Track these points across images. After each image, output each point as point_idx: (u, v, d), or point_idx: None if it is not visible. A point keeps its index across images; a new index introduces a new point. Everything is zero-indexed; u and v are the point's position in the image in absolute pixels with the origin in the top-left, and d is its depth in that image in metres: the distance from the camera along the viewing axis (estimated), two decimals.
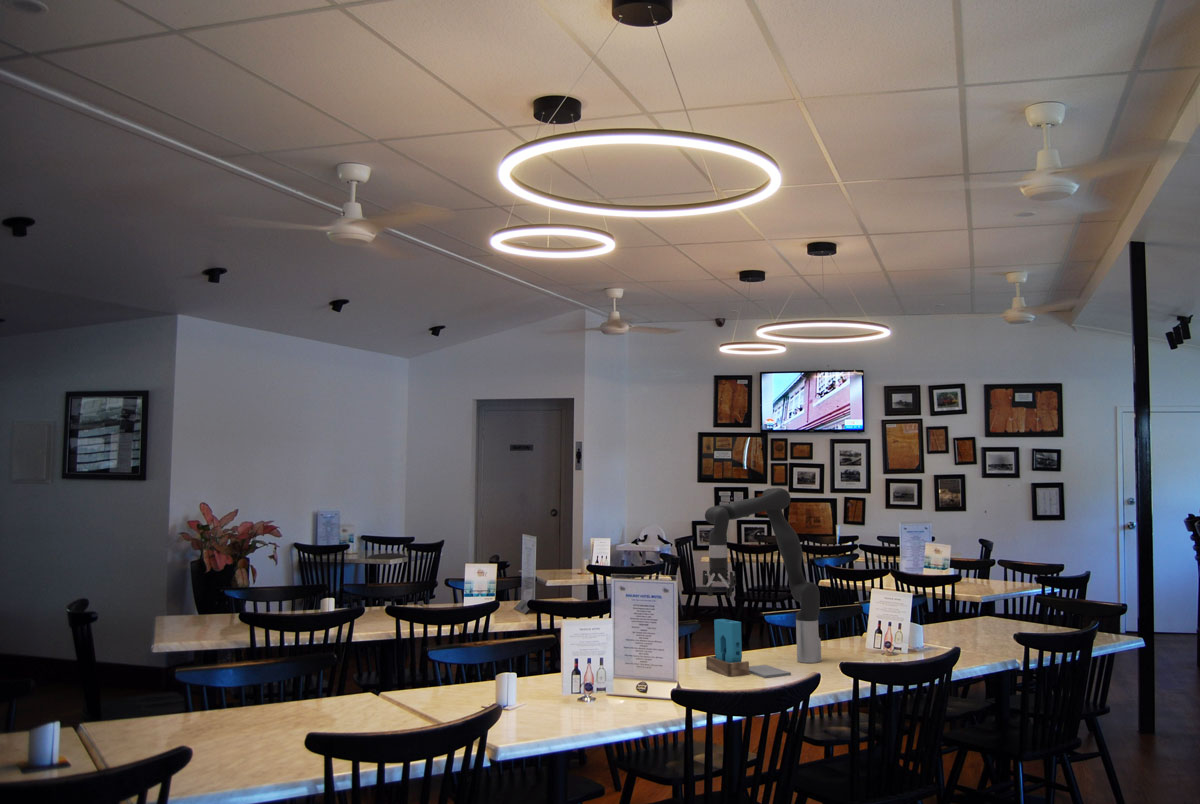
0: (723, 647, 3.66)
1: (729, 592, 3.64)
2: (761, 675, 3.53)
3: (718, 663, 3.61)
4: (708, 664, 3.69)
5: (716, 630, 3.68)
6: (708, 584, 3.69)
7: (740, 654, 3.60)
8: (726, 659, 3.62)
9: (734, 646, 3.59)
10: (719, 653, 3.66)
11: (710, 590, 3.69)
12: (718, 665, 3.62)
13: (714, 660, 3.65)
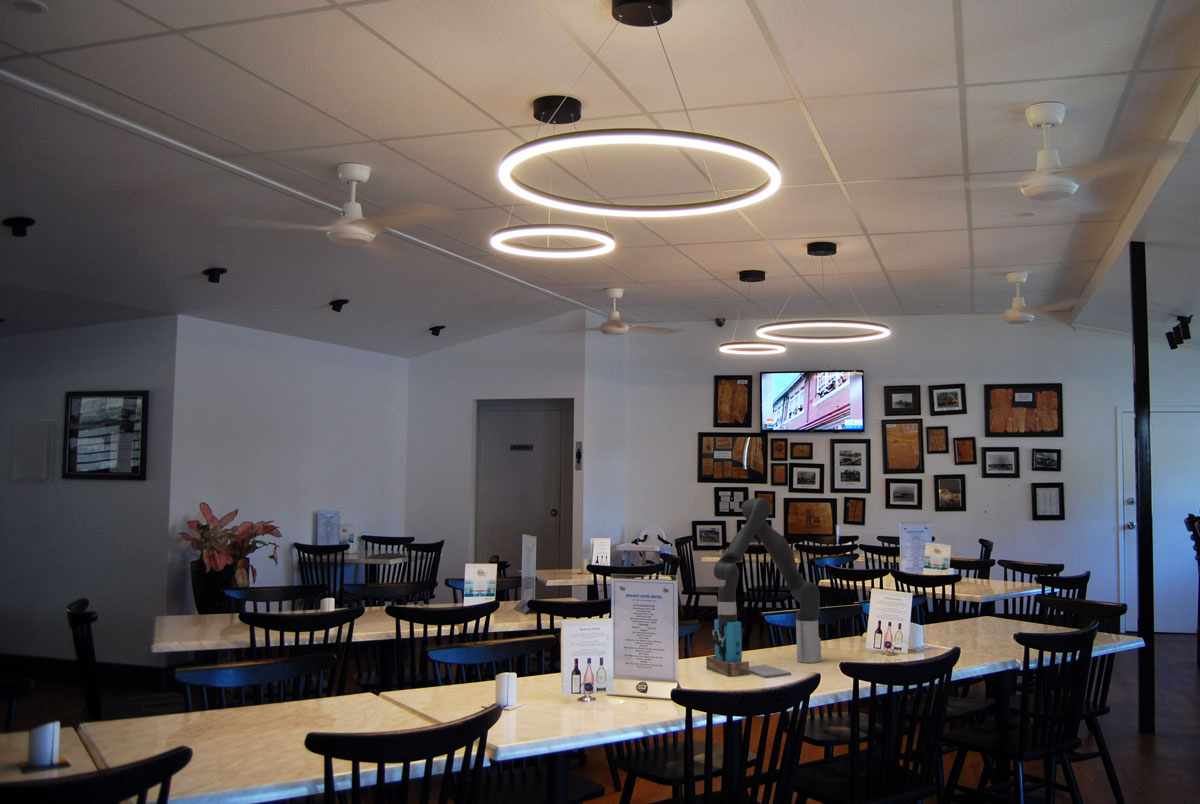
0: None
1: None
2: (761, 675, 3.53)
3: (718, 663, 3.61)
4: (708, 664, 3.69)
5: None
6: (723, 644, 3.63)
7: (740, 654, 3.60)
8: (726, 659, 3.62)
9: (734, 646, 3.59)
10: None
11: None
12: (718, 665, 3.62)
13: (714, 660, 3.65)
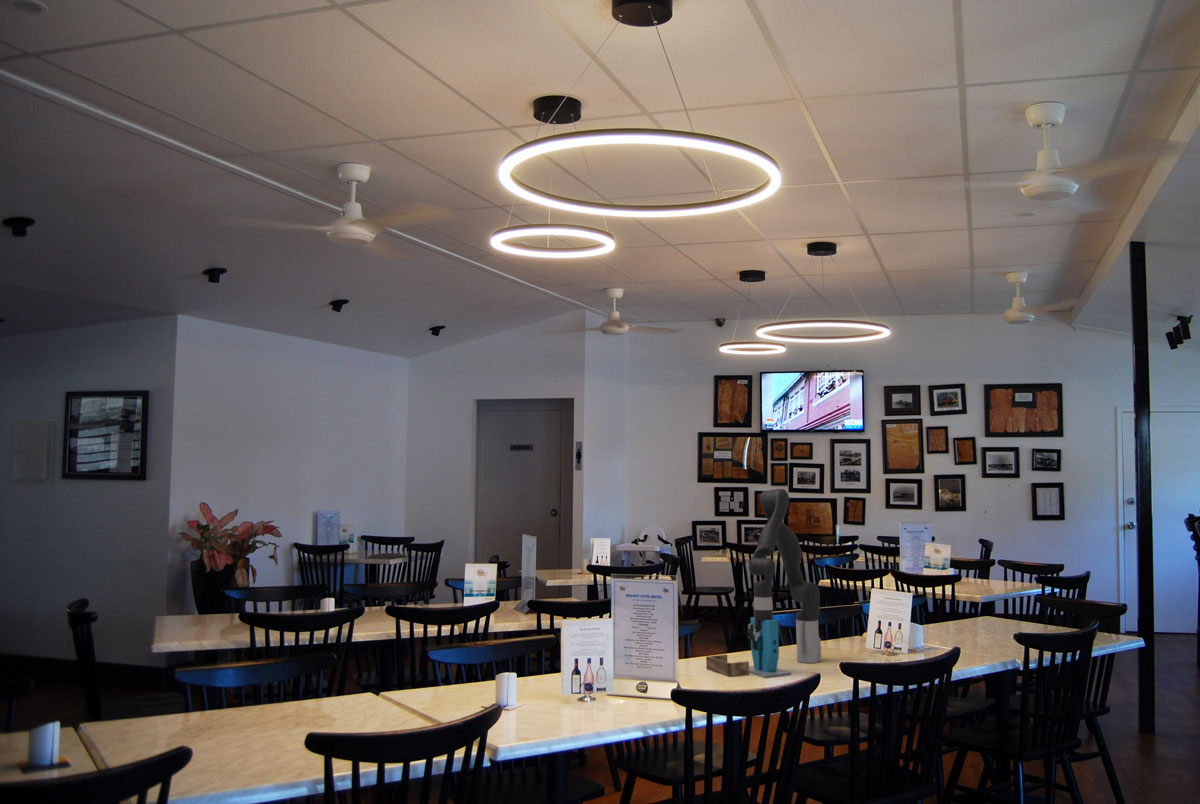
0: (760, 645, 3.64)
1: None
2: (761, 675, 3.53)
3: (718, 663, 3.61)
4: (708, 664, 3.69)
5: None
6: (756, 638, 3.60)
7: (777, 652, 3.58)
8: (763, 657, 3.60)
9: (771, 644, 3.57)
10: (755, 651, 3.63)
11: None
12: (718, 665, 3.62)
13: (714, 660, 3.65)
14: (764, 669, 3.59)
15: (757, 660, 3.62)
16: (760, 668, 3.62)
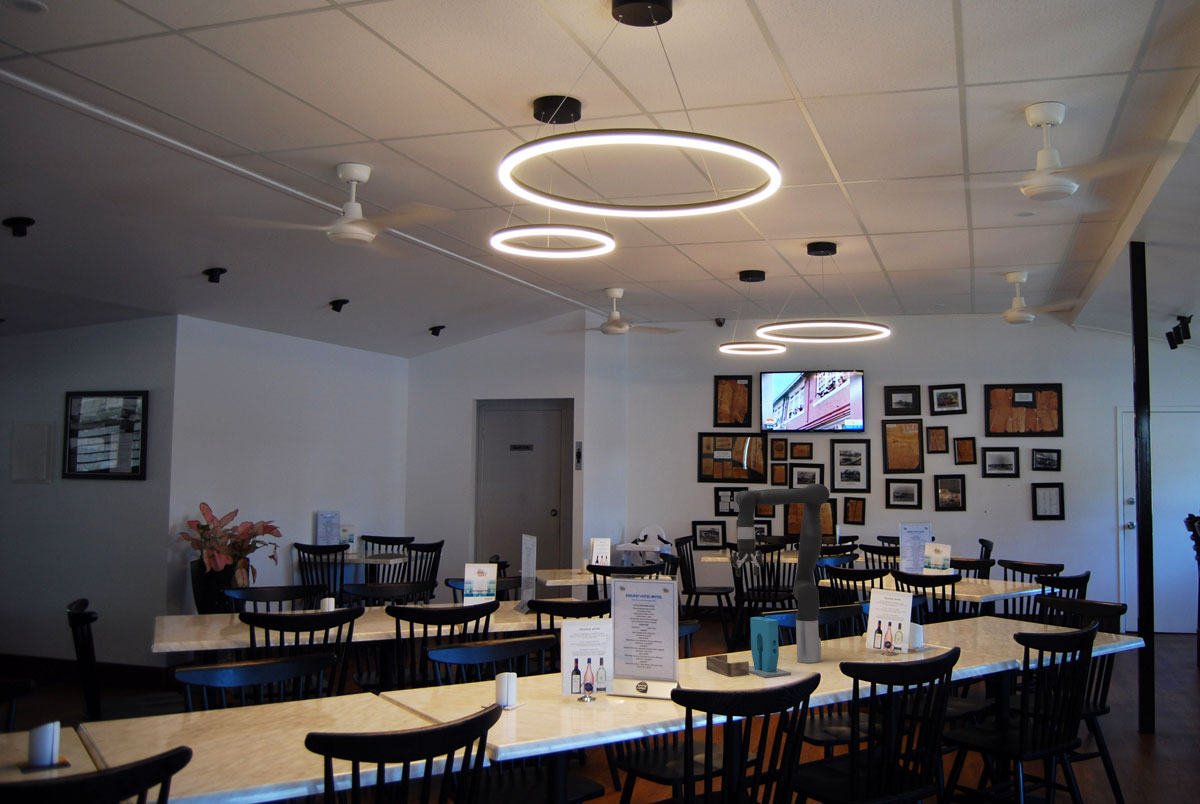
0: (759, 645, 3.64)
1: (758, 570, 3.86)
2: (761, 675, 3.53)
3: (718, 663, 3.61)
4: (708, 664, 3.69)
5: (752, 628, 3.65)
6: (739, 565, 3.82)
7: (777, 652, 3.58)
8: (763, 657, 3.60)
9: (771, 644, 3.57)
10: (755, 651, 3.63)
11: None
12: (718, 665, 3.62)
13: (714, 660, 3.65)
14: (764, 669, 3.59)
15: (757, 660, 3.62)
16: (760, 668, 3.62)
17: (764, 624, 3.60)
